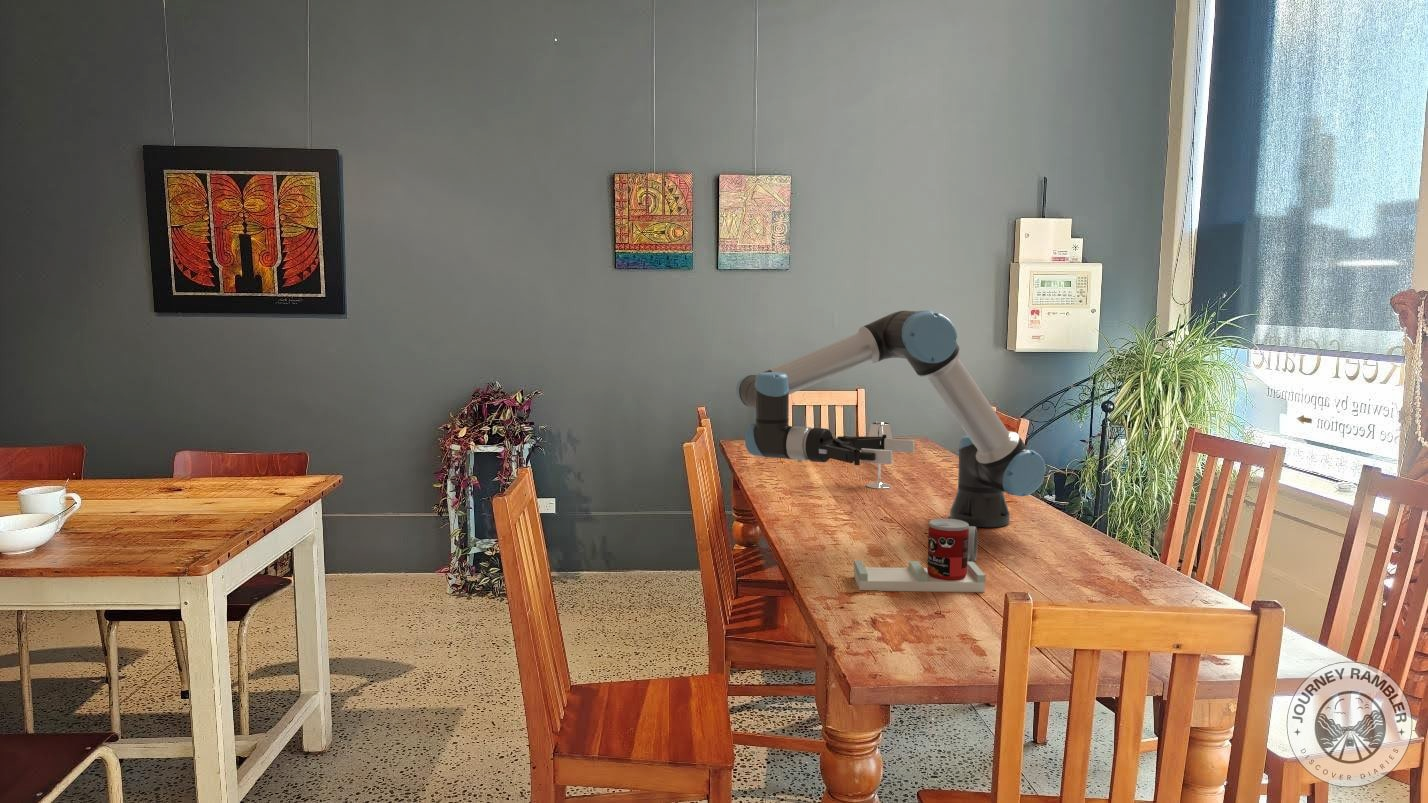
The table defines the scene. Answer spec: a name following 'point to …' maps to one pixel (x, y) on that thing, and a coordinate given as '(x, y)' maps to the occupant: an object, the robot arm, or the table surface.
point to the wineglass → (878, 431)
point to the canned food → (947, 549)
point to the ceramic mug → (972, 543)
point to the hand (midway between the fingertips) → (903, 452)
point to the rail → (915, 579)
